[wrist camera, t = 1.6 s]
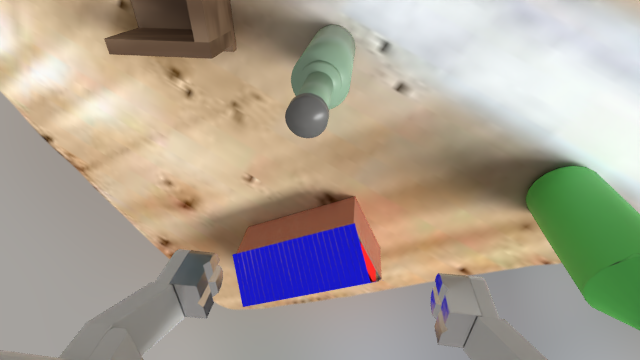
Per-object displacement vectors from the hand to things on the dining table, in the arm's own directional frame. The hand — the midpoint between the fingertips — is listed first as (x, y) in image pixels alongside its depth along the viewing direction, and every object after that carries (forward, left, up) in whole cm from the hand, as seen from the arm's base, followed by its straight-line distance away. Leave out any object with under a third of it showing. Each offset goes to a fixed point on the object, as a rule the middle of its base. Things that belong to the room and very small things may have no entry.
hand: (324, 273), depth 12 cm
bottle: (+16, +29, -31) cm, 45 cm away
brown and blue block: (+29, -5, -32) cm, 43 cm away
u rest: (-6, -19, -31) cm, 37 cm away
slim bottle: (-1, -2, -31) cm, 31 cm away
